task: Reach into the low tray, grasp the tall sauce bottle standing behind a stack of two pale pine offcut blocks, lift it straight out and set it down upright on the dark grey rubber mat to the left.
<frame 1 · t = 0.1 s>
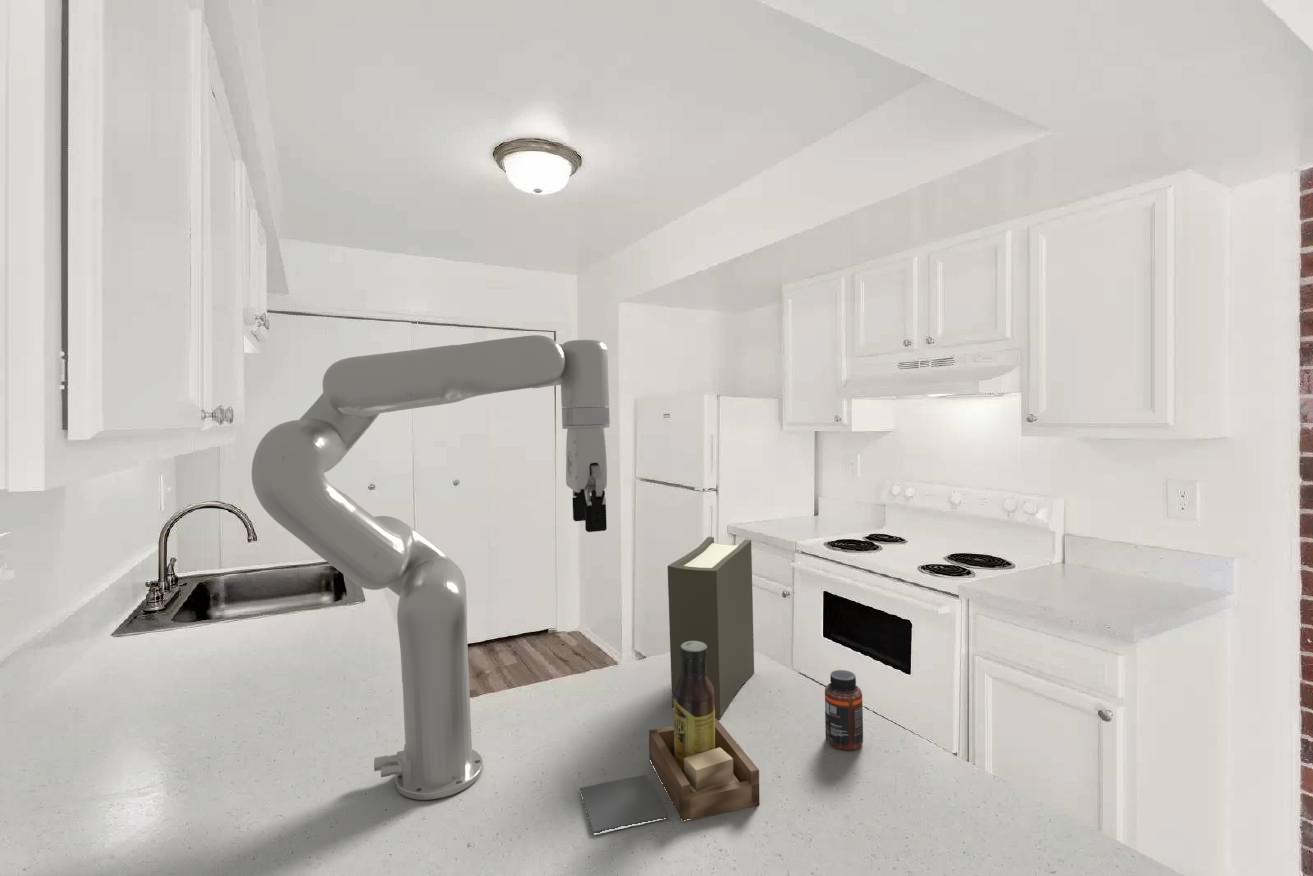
hand: (589, 525, 102), 37 cm above the countertop, tool pointing down, fingers open, 9 cm apart
book: (714, 693, 124), on the countertop
offcut low: (711, 799, 91), resting in tray, touching offcut top
mat: (621, 805, 89), on the countertop
sauce bottle: (695, 773, 97), resting in tray
tray: (697, 776, 96), on the countertop
supplement bottle: (844, 743, 104), on the countertop
offcut top: (708, 779, 90), point 3 cm above the countertop, touching offcut low
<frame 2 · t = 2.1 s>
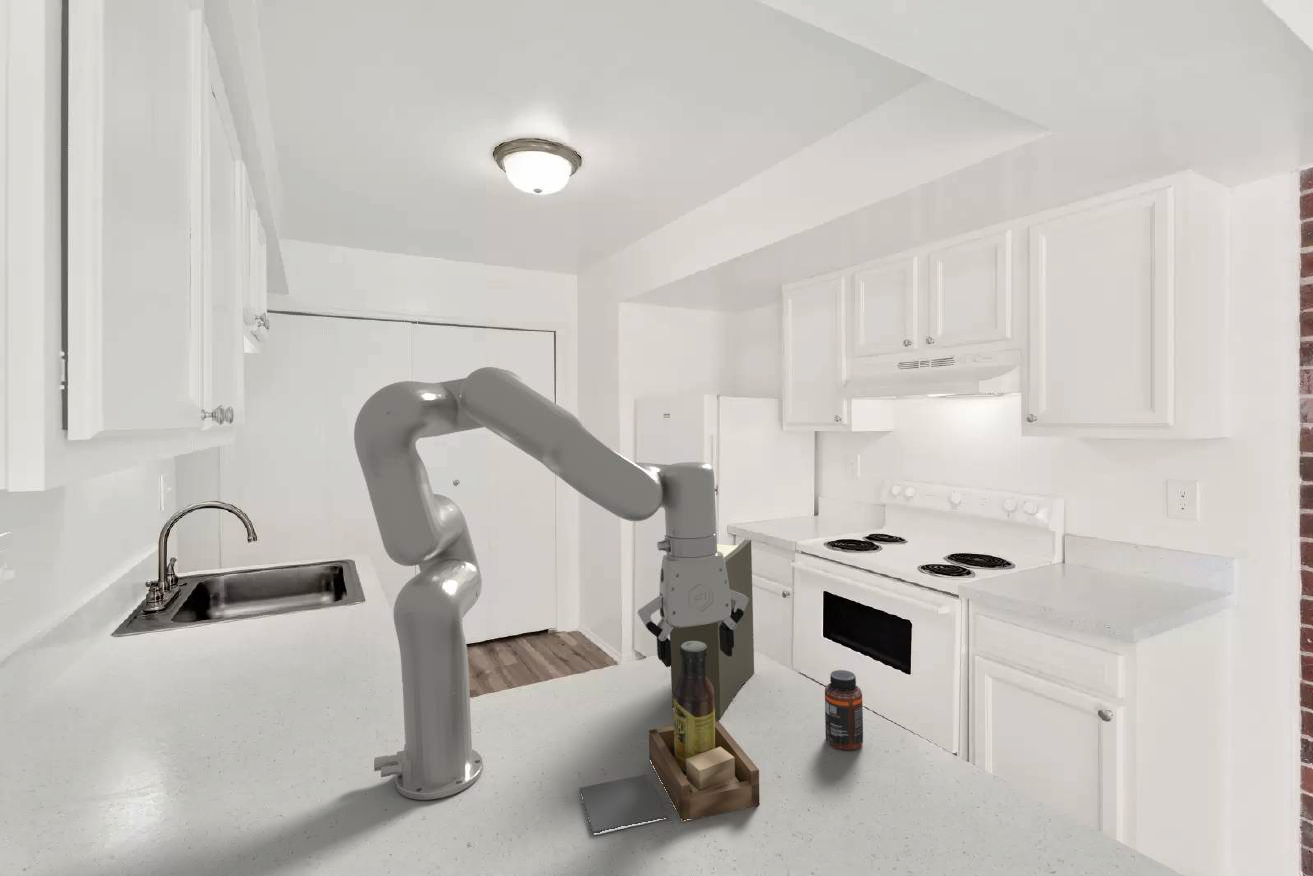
hand: (696, 658, 96), 18 cm above the countertop, tool pointing down, fingers open, 9 cm apart
nothing on the countertop moved.
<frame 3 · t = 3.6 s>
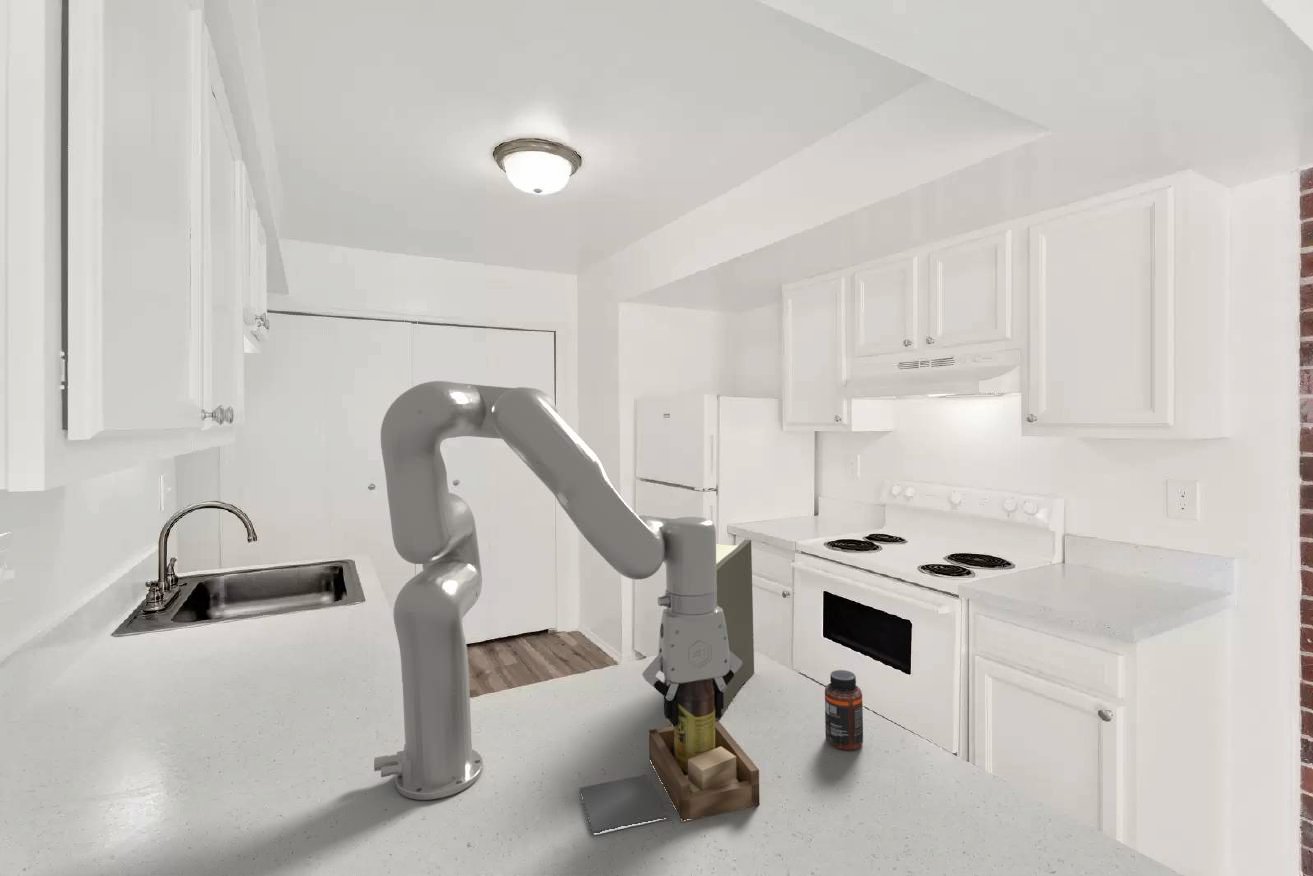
hand: (694, 716, 96), 9 cm above the countertop, tool pointing down, fingers closed on sauce bottle, 6 cm apart
sauce bottle: (695, 773, 97), resting in tray, touching gripper
everything else where it was.
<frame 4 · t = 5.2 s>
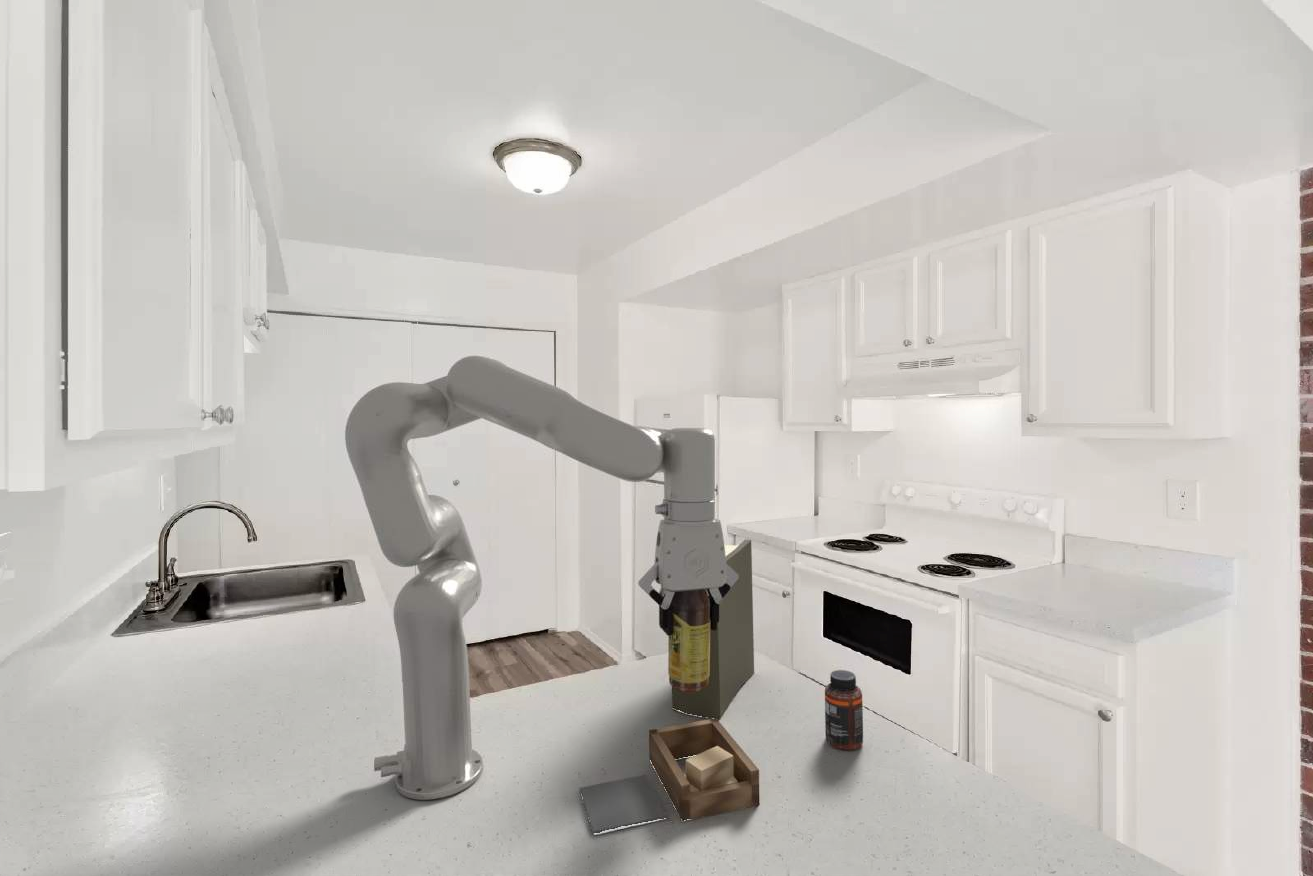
hand: (689, 629, 96), 22 cm above the countertop, tool pointing down, fingers closed on sauce bottle, 6 cm apart
offcut low: (709, 799, 91), resting in tray
sauce bottle: (689, 686, 96), point 13 cm above the countertop, touching gripper
offcut top: (709, 778, 91), point 3 cm above the countertop
everything else where it was.
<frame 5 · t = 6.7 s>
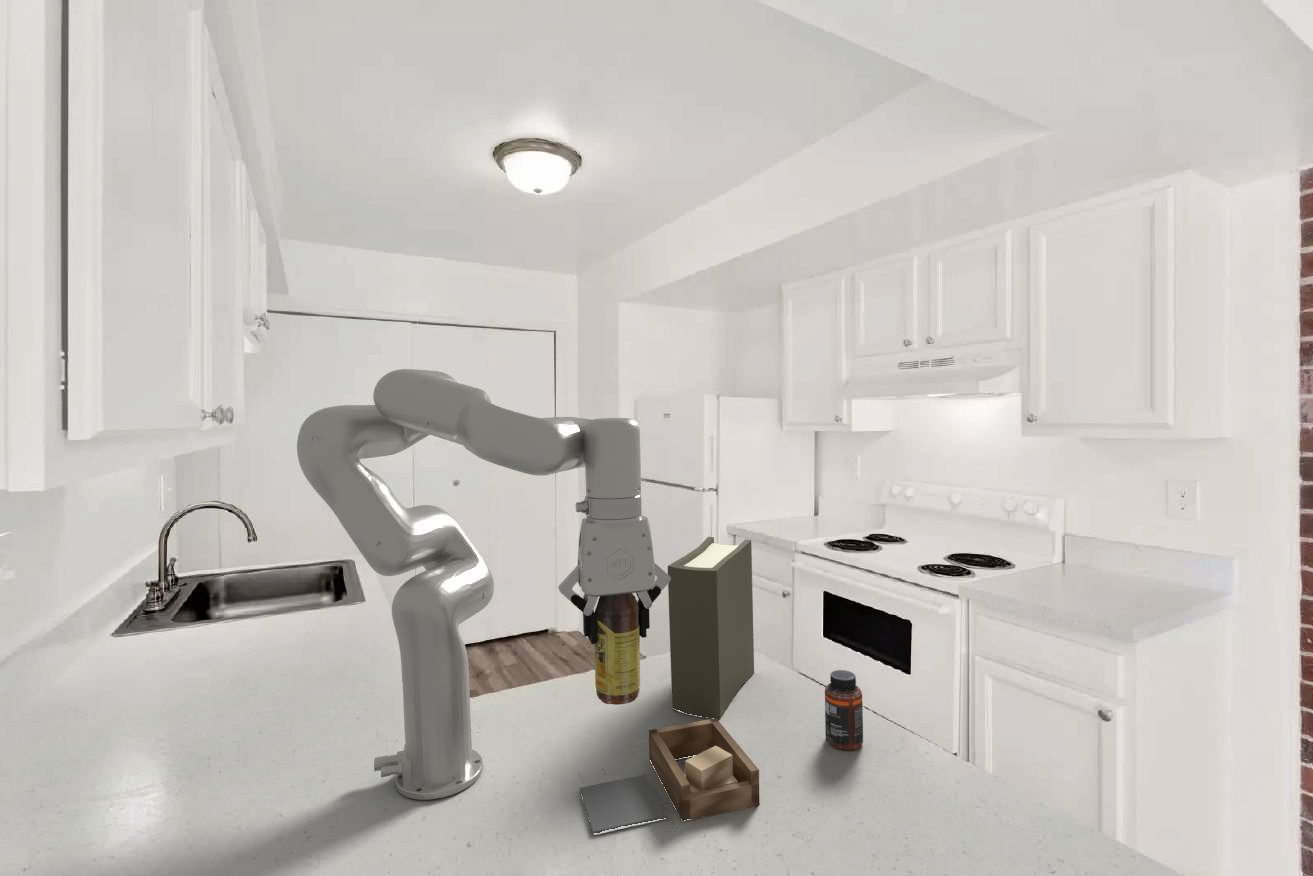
hand: (616, 636, 88), 24 cm above the countertop, tool pointing down, fingers closed on sauce bottle, 6 cm apart
offcut low: (709, 799, 91), resting in tray, touching offcut top
sauce bottle: (618, 699, 88), point 15 cm above the countertop, touching gripper
offcut top: (709, 778, 91), point 3 cm above the countertop, touching offcut low
everything else where it was.
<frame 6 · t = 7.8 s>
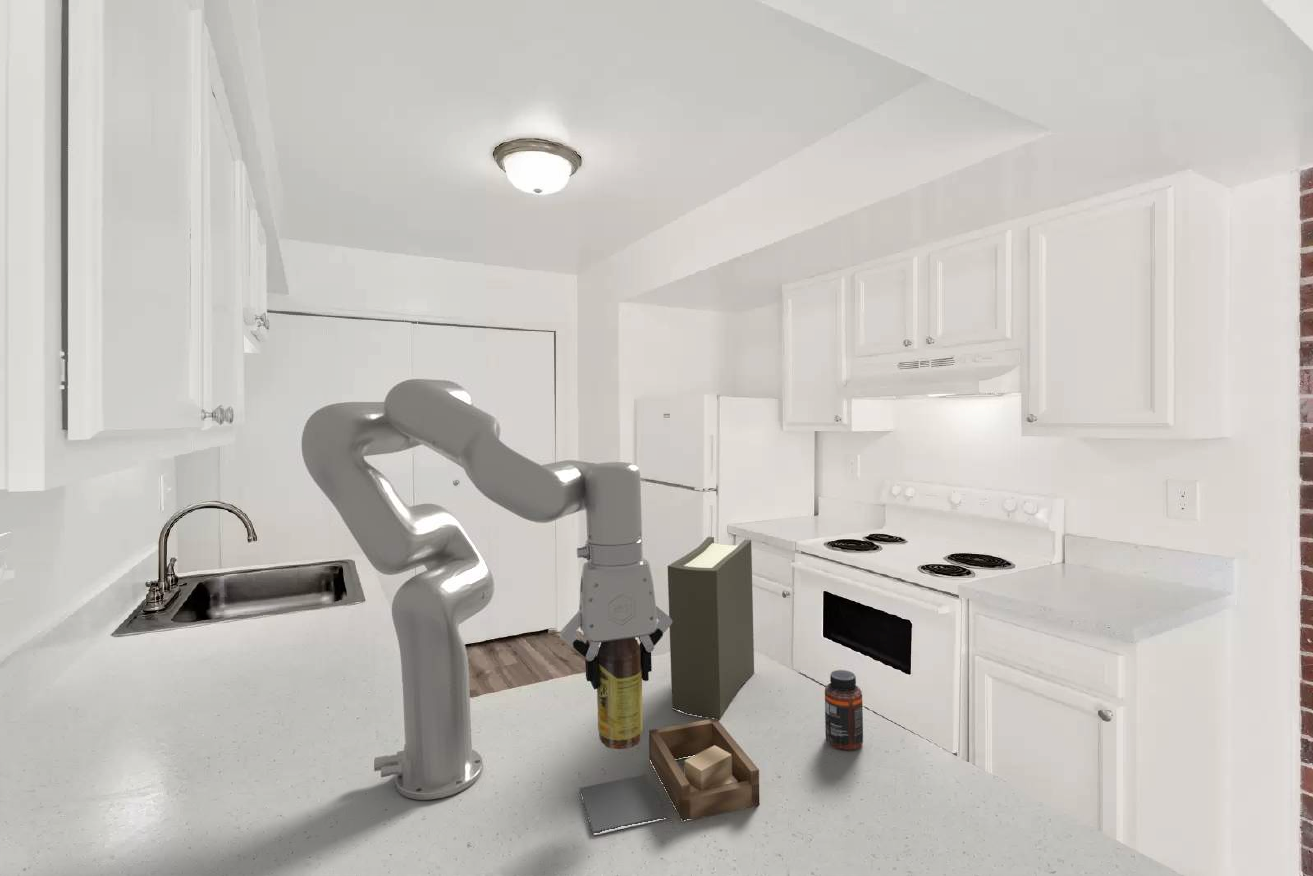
hand: (619, 680, 88), 18 cm above the countertop, tool pointing down, fingers closed on sauce bottle, 6 cm apart
sauce bottle: (621, 742, 89), point 9 cm above the countertop, touching gripper
everything else where it was.
when the fingers open (10 cm above the countertop, at t = 9.7 s): sauce bottle stays where it is, resting on mat.
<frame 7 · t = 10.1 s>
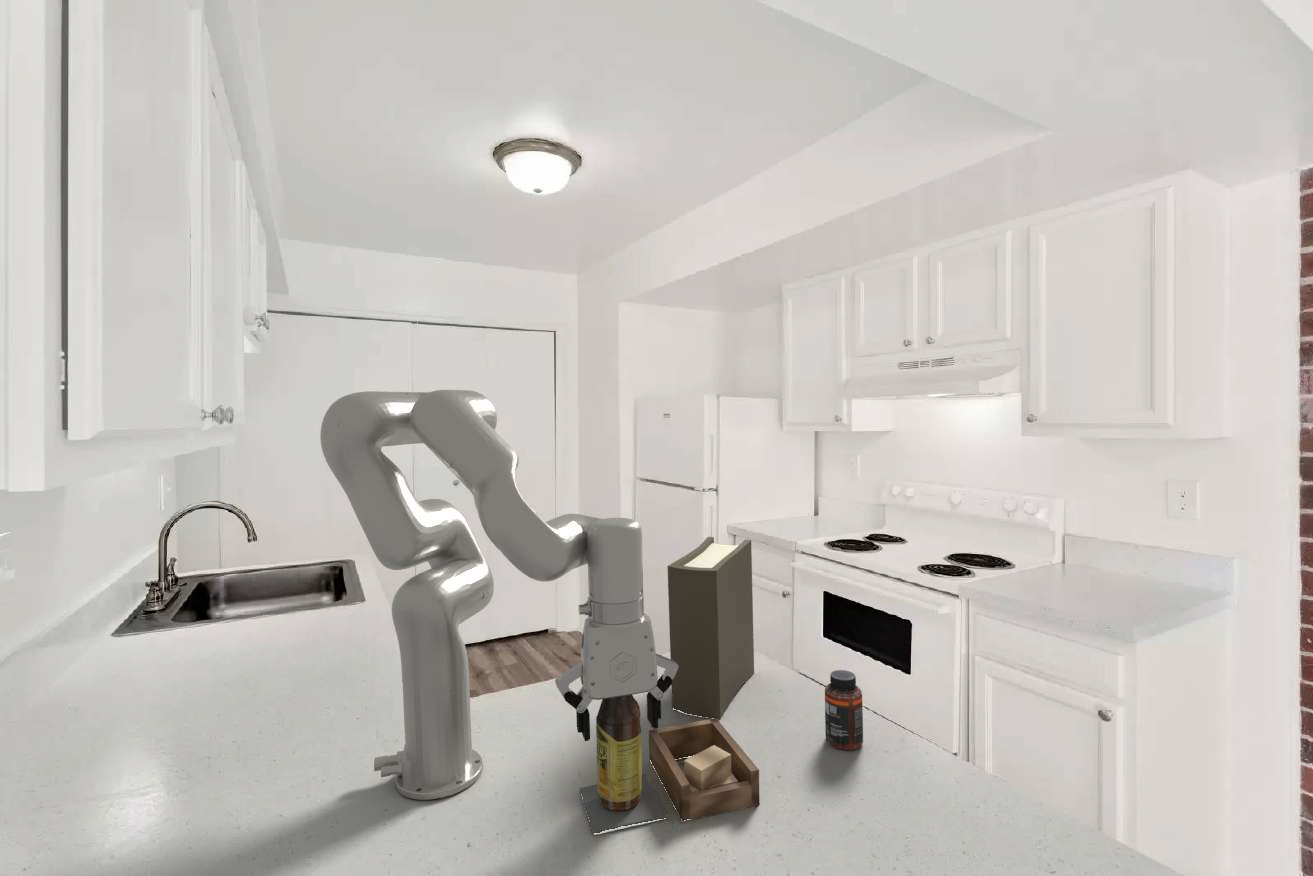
hand: (619, 730, 89), 11 cm above the countertop, tool pointing down, fingers open, 9 cm apart
sauce bottle: (620, 802, 89), resting on mat
everything else where it was.
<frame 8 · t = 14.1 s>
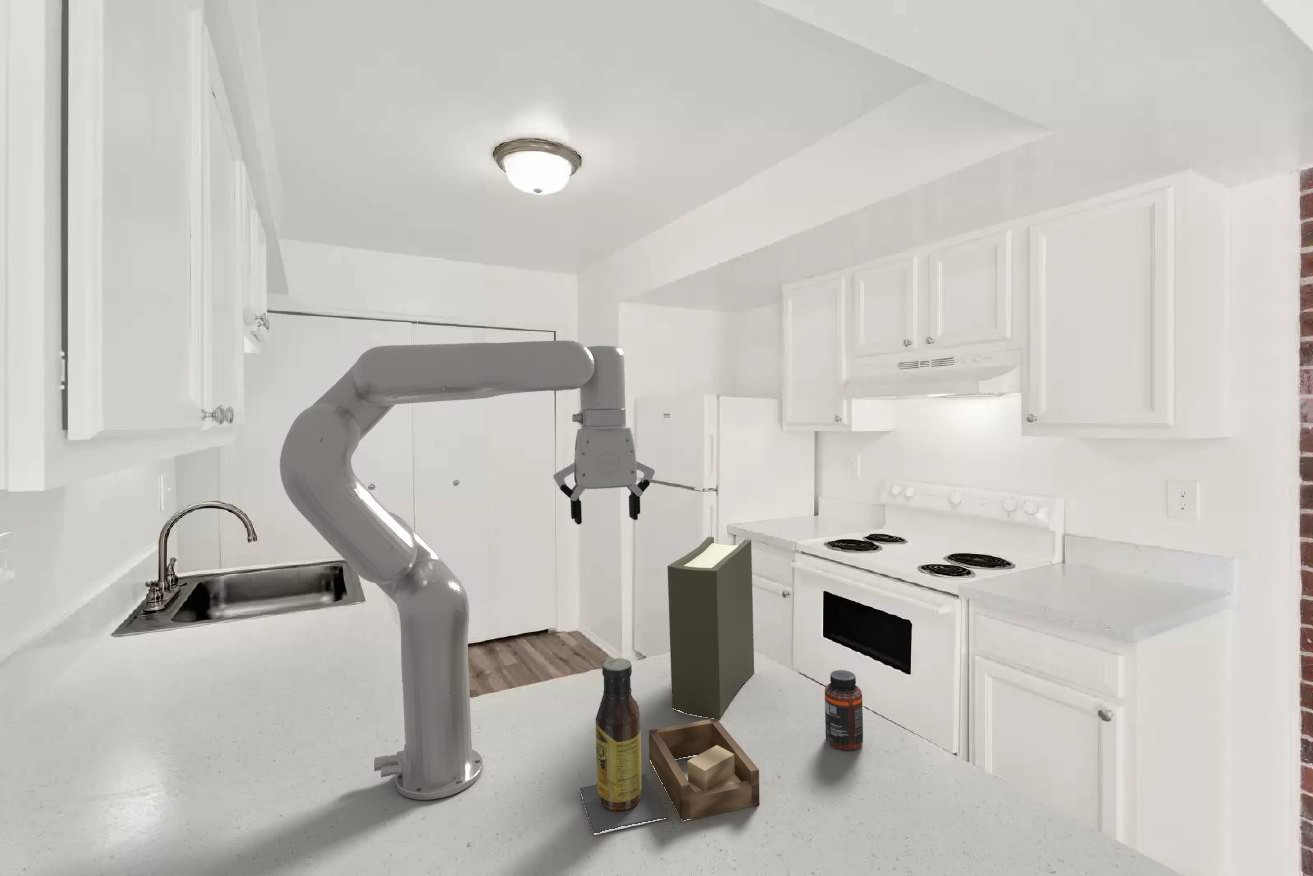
hand: (606, 520, 108), 36 cm above the countertop, tool pointing down, fingers open, 9 cm apart
offcut low: (713, 801, 90), resting in tray
offcut top: (711, 778, 91), point 3 cm above the countertop
everything else where it was.
at the end: sauce bottle inside the target area on the mat (0.2 cm from its centre), point 0.4 cm above the mat's base; sauce bottle tilted 0°; the gripper is holding nothing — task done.
